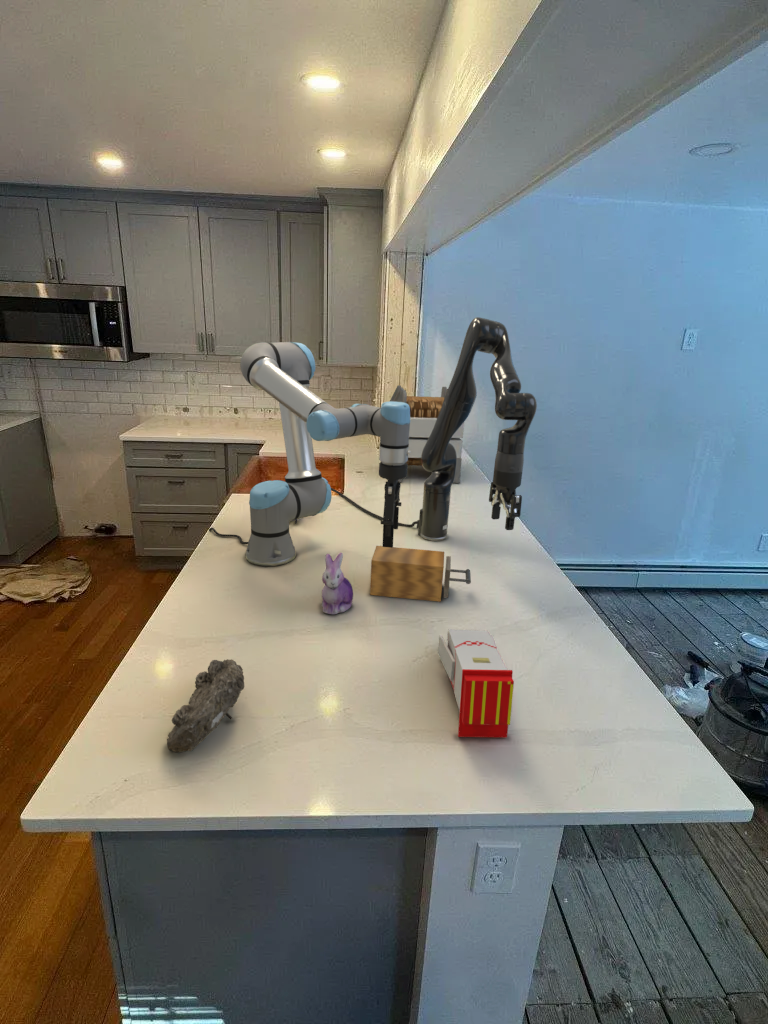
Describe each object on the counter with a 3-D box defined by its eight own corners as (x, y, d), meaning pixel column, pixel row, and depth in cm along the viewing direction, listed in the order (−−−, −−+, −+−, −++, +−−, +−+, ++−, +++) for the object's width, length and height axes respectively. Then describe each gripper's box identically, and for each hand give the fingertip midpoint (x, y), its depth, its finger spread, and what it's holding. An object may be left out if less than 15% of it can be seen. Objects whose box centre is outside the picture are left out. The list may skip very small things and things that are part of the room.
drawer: (468, 584, 163) (471, 558, 160) (469, 600, 154) (472, 572, 151) (385, 577, 165) (387, 550, 162) (382, 591, 157) (383, 563, 154)
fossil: (192, 660, 117) (244, 628, 112) (224, 691, 120) (276, 661, 115) (142, 746, 98) (202, 712, 93) (182, 779, 101) (242, 748, 96)
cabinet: (441, 584, 164) (444, 551, 161) (440, 601, 155) (443, 566, 151) (374, 578, 166) (376, 545, 163) (370, 594, 157) (371, 560, 153)
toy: (488, 613, 130) (523, 677, 101) (484, 667, 133) (517, 744, 104) (435, 612, 130) (455, 676, 101) (432, 666, 133) (451, 743, 103)
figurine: (327, 619, 143) (328, 565, 138) (313, 601, 152) (313, 549, 147) (361, 611, 147) (363, 559, 142) (345, 594, 156) (346, 544, 151)
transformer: (382, 463, 289) (386, 382, 275) (445, 464, 293) (451, 384, 279) (390, 482, 257) (394, 392, 243) (460, 483, 261) (468, 394, 247)
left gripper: (403, 475, 136) (399, 556, 144) (411, 452, 160) (407, 522, 167) (372, 473, 137) (370, 554, 144) (384, 450, 161) (382, 520, 168)
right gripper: (534, 474, 147) (526, 532, 152) (508, 460, 160) (502, 514, 165) (508, 475, 145) (501, 534, 150) (484, 461, 158) (478, 516, 163)
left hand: (390, 537), depth 156 cm, fingers open, 13 cm apart
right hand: (501, 524), depth 158 cm, fingers open, 8 cm apart
